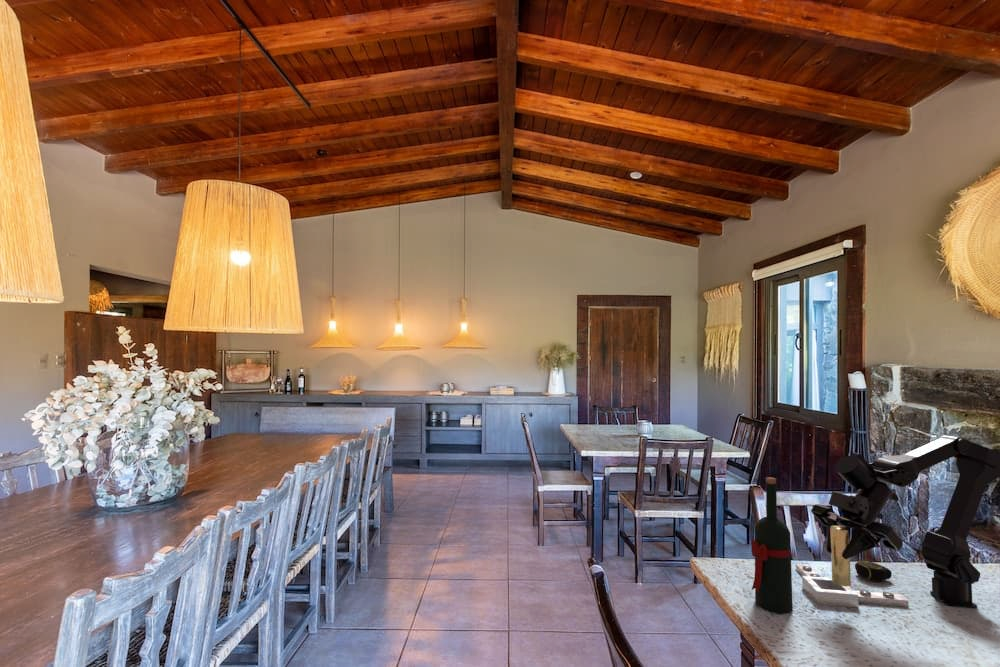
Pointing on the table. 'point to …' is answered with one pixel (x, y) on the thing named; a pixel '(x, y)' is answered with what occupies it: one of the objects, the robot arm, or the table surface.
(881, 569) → the tape measure
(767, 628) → the table surface
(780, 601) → the wine bottle
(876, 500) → the robot arm
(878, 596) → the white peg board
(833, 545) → the gold metal cylinder
